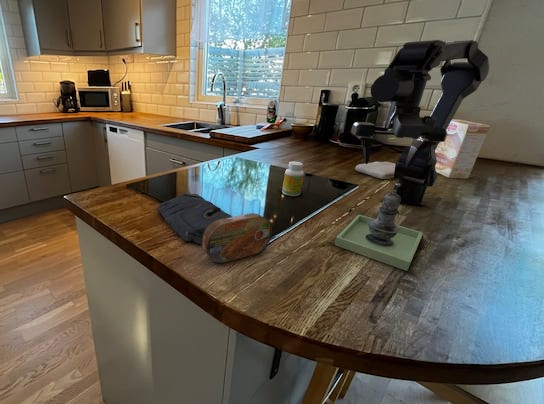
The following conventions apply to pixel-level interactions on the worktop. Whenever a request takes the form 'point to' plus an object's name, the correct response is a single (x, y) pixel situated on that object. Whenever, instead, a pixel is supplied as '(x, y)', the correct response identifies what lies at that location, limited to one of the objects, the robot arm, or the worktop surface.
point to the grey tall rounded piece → (385, 221)
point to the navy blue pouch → (191, 215)
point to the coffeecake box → (460, 148)
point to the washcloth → (377, 169)
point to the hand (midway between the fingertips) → (386, 165)
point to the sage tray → (392, 255)
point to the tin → (236, 237)
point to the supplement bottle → (293, 179)
